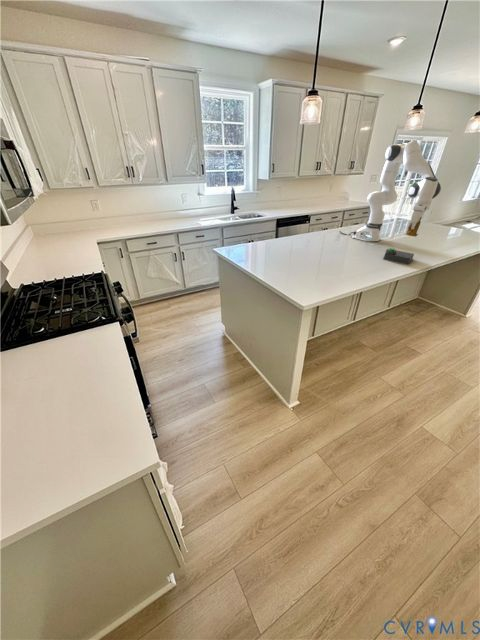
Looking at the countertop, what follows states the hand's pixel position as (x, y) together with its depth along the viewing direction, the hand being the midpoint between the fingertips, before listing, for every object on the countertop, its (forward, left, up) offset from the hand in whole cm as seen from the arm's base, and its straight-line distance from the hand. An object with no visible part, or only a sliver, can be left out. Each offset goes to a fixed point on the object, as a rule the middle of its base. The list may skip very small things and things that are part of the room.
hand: (413, 227), depth 174 cm
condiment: (0, +1, -5) cm, 5 cm away
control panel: (-3, -2, -22) cm, 22 cm away
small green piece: (-8, -5, -17) cm, 19 cm away
